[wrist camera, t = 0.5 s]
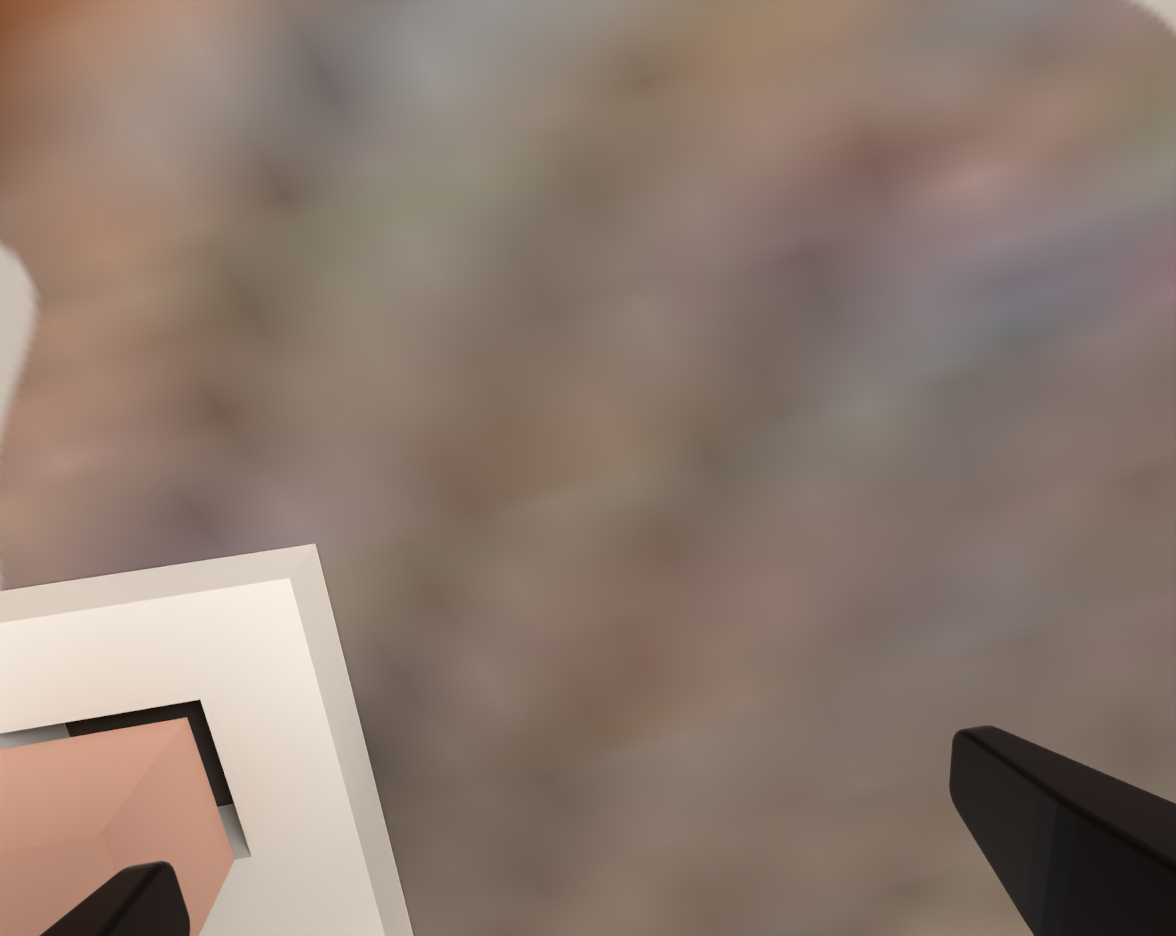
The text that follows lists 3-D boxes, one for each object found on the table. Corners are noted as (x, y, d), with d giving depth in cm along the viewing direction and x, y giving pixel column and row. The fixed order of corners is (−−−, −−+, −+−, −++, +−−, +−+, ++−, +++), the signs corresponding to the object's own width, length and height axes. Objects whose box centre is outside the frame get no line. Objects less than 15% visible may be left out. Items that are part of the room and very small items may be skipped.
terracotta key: (234, 859, 19) (168, 1000, 15) (57, 893, 19) (-57, 1047, 15) (186, 717, 18) (100, 833, 14) (-6, 750, 17) (-150, 880, 14)
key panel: (450, 1081, 26) (444, 1159, 24) (144, 1151, 25) (107, 1240, 23) (315, 543, 20) (289, 578, 17) (-107, 607, 19) (-196, 653, 16)
